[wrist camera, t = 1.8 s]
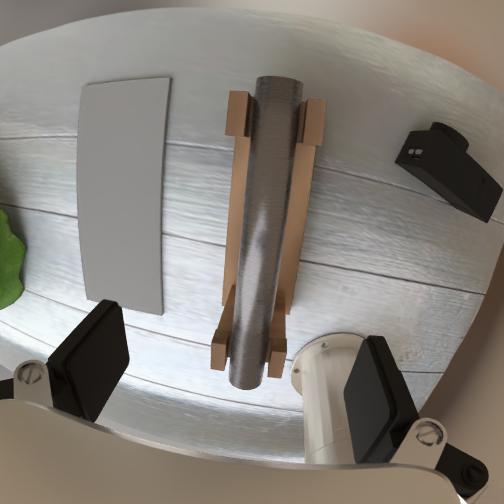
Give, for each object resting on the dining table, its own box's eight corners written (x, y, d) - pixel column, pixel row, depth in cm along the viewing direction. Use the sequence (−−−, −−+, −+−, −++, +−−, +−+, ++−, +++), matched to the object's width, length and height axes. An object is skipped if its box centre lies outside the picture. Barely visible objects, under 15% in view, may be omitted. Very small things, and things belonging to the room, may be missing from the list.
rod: (258, 83, 19) (254, 74, 16) (301, 88, 19) (304, 79, 16) (231, 365, 27) (226, 387, 24) (262, 369, 27) (260, 391, 24)
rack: (317, 119, 29) (340, 103, 17) (289, 308, 36) (291, 379, 25) (240, 110, 29) (215, 89, 17) (224, 299, 37) (200, 367, 25)
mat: (171, 78, 28) (169, 77, 28) (163, 313, 38) (161, 315, 38) (84, 86, 29) (82, 86, 28) (89, 297, 39) (86, 299, 38)
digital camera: (474, 172, 28) (508, 180, 22) (456, 209, 30) (488, 224, 24) (414, 122, 28) (444, 119, 21) (394, 162, 29) (421, 167, 23)
